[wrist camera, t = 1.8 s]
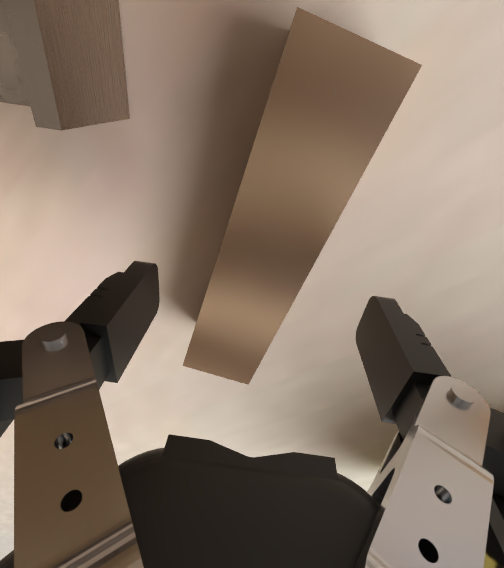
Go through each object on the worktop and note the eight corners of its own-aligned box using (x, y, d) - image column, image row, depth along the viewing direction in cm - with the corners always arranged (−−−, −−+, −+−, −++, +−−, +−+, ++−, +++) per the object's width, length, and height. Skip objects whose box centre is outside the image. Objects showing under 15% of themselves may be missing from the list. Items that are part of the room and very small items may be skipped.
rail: (291, 32, 11) (297, 7, 8) (381, 72, 12) (421, 65, 9) (198, 320, 20) (182, 365, 17) (253, 337, 21) (248, 384, 17)
